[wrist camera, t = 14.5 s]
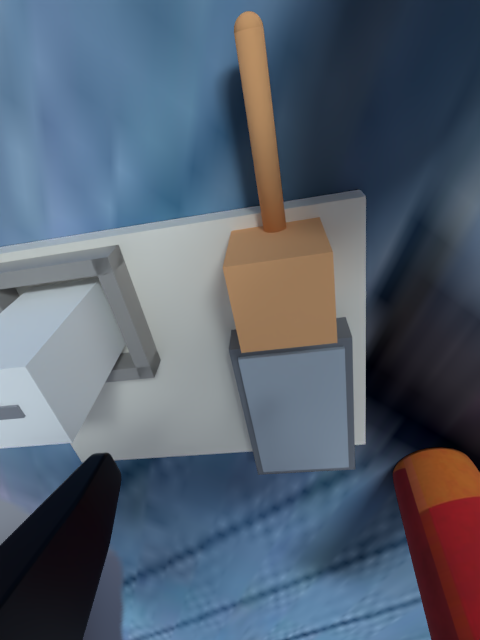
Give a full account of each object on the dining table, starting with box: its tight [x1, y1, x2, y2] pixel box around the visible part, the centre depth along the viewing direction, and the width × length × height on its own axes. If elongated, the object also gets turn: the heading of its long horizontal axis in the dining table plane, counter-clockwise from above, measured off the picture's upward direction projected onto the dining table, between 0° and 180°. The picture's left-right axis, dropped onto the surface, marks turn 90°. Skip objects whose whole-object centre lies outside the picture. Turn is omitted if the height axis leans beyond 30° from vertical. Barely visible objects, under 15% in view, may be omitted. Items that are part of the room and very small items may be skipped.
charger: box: [0, 278, 126, 448], centre depth 17 cm, size 4×4×7 cm
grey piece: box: [229, 317, 355, 475], centre depth 21 cm, size 6×10×2 cm, turn 10°
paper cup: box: [393, 447, 480, 640], centre depth 21 cm, size 8×8×14 cm
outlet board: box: [0, 190, 366, 462], centre depth 21 cm, size 20×16×3 cm
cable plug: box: [223, 11, 338, 353], centre depth 14 cm, size 4×12×4 cm, turn 10°
